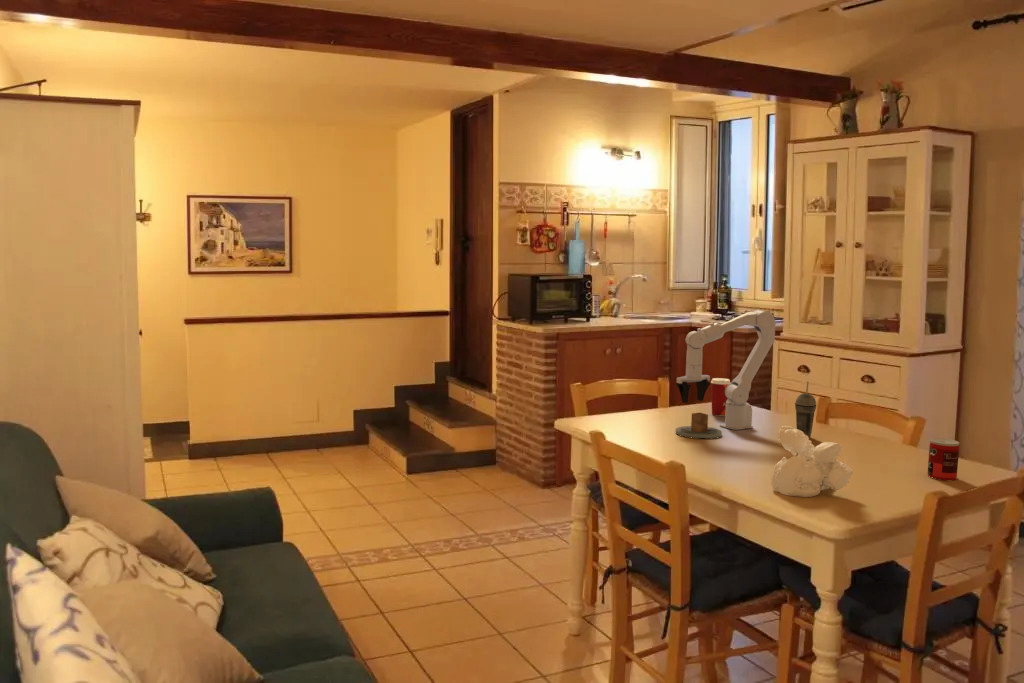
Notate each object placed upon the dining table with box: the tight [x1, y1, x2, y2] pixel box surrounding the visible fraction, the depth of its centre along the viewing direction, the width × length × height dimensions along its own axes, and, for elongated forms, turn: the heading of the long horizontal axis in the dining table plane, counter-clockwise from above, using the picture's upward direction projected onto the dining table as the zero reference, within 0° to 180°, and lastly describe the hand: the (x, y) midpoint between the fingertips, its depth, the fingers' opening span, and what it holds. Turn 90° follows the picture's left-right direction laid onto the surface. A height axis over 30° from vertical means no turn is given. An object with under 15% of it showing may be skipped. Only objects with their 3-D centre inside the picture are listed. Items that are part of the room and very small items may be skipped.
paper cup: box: [710, 377, 732, 416], centre depth 356 cm, size 8×8×14 cm
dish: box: [675, 425, 723, 439], centre depth 321 cm, size 16×16×1 cm
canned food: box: [927, 437, 960, 481], centre depth 269 cm, size 8×8×11 cm
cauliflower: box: [770, 424, 854, 498], centre depth 251 cm, size 19×20×20 cm
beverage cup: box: [794, 381, 817, 439], centre depth 318 cm, size 7×7×20 cm
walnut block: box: [690, 412, 709, 432], centre depth 320 cm, size 4×4×6 cm
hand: (692, 401), depth 331 cm, fingers open, 7 cm apart
